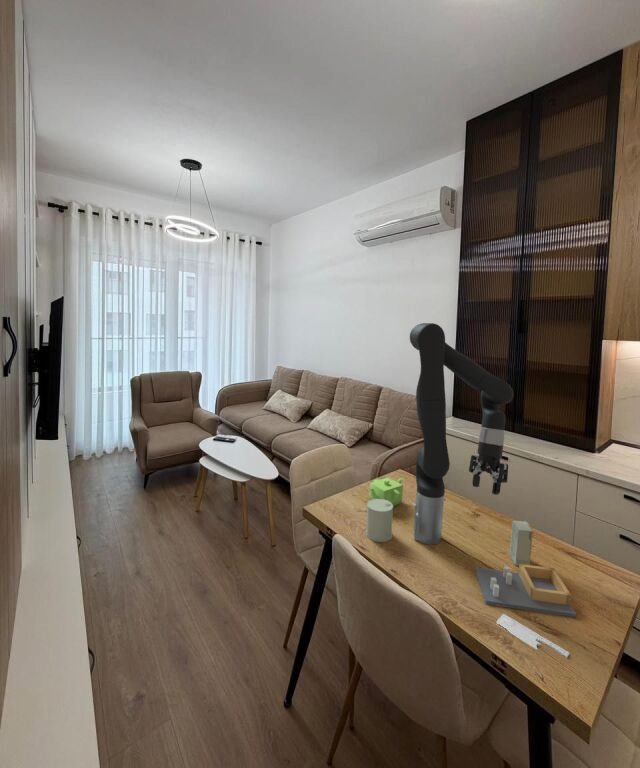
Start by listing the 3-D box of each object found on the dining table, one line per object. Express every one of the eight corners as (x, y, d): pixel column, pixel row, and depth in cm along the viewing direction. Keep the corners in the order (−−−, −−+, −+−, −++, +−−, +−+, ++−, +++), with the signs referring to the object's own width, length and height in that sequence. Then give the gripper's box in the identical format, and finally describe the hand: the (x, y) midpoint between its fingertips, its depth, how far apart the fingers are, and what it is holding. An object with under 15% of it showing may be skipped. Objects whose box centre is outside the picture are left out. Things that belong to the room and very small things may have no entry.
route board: (485, 603, 100) (487, 590, 100) (475, 570, 114) (476, 558, 113) (575, 617, 96) (577, 603, 95) (553, 580, 110) (554, 568, 109)
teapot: (402, 497, 160) (403, 474, 158) (405, 513, 147) (406, 489, 145) (367, 495, 162) (368, 472, 160) (366, 510, 149) (367, 486, 147)
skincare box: (529, 567, 115) (534, 532, 113) (514, 565, 116) (518, 530, 114) (523, 555, 121) (527, 521, 119) (508, 553, 122) (512, 519, 120)
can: (395, 540, 128) (397, 509, 126) (370, 543, 127) (371, 511, 125) (386, 526, 137) (388, 496, 135) (362, 528, 136) (363, 498, 134)
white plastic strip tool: (561, 668, 82) (562, 664, 82) (494, 626, 94) (494, 622, 93) (569, 655, 86) (569, 651, 85) (503, 616, 97) (503, 612, 97)
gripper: (466, 437, 129) (461, 484, 128) (499, 445, 115) (493, 496, 115) (483, 439, 131) (478, 484, 131) (517, 446, 118) (511, 497, 117)
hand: (485, 490), depth 123 cm, fingers open, 8 cm apart
